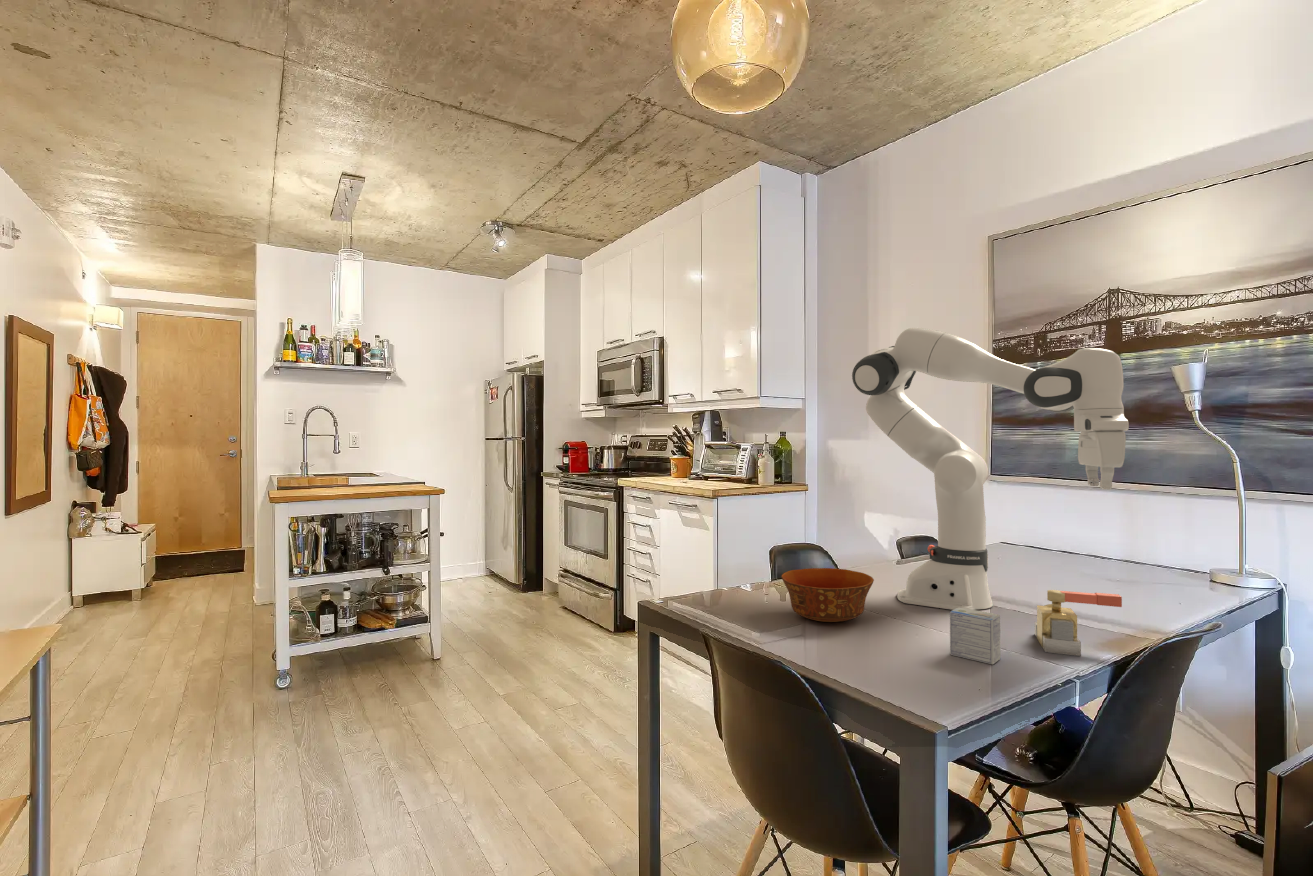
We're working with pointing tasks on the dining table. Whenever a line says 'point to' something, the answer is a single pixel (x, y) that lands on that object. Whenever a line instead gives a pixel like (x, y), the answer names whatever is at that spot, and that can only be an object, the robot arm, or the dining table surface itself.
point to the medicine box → (975, 635)
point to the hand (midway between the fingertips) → (1099, 487)
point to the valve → (1057, 629)
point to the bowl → (827, 593)
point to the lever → (1085, 598)
